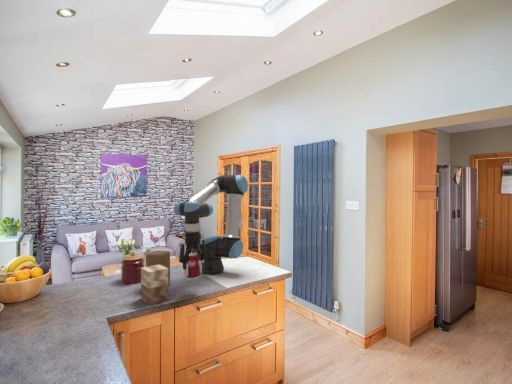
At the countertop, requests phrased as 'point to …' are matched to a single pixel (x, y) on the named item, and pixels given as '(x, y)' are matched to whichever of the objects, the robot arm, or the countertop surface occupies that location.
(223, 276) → the countertop surface
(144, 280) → the tower top
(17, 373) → the countertop surface
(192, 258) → the soda can
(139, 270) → the canister
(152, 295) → the tower base
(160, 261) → the block
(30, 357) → the countertop surface
